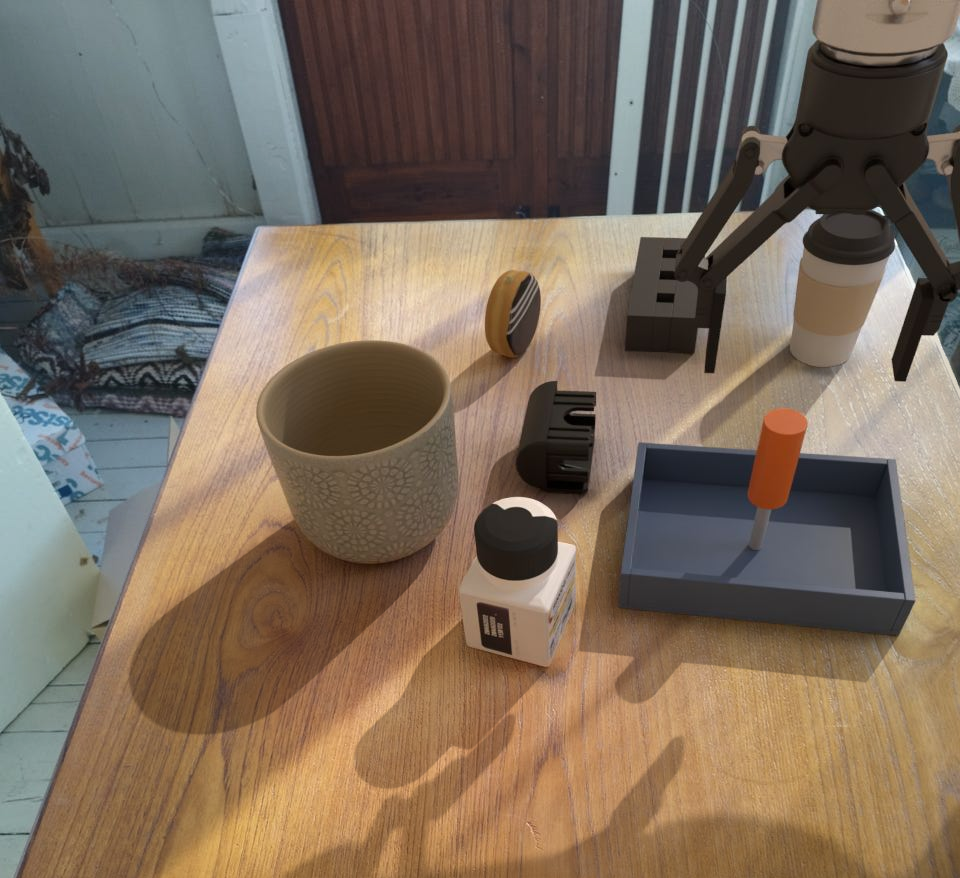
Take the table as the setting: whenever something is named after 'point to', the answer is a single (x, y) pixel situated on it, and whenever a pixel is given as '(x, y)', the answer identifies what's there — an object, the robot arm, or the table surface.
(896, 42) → the robot arm
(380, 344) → the planter
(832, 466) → the bin
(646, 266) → the holder
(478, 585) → the container
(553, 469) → the end cap
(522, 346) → the doughnut
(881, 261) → the coffee cup
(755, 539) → the screwdriver
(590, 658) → the table surface
